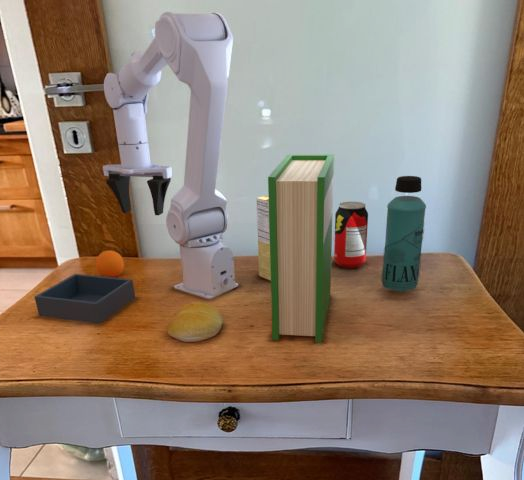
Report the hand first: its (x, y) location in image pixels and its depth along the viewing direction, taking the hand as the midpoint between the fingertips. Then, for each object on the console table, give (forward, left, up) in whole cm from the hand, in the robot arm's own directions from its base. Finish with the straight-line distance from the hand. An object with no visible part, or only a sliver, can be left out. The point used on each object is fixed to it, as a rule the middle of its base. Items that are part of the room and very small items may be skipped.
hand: (142, 213), depth 113 cm
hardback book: (-43, +4, -11) cm, 44 cm away
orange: (-2, +10, -10) cm, 14 cm away
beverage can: (-36, -22, -11) cm, 44 cm away
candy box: (-28, -10, -11) cm, 32 cm away
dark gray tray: (-10, +23, -10) cm, 27 cm away
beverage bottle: (-51, -14, -11) cm, 54 cm away
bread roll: (-32, +18, -11) cm, 38 cm away
